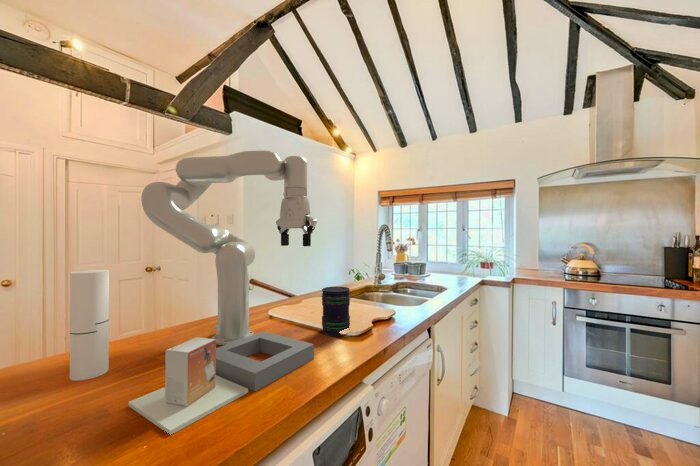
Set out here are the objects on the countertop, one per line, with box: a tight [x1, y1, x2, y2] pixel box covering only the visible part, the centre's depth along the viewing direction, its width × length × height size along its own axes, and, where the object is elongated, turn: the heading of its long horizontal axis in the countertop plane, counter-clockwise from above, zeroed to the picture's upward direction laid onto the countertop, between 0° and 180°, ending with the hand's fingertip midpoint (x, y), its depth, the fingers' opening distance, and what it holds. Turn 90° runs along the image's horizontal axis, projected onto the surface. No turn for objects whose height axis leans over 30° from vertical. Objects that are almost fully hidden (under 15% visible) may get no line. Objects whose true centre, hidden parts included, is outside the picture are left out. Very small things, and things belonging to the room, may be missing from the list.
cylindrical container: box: [69, 269, 110, 382], centre depth 72 cm, size 7×7×25 cm
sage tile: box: [128, 375, 249, 436], centre depth 61 cm, size 16×16×1 cm
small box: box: [164, 336, 217, 406], centre depth 61 cm, size 8×6×10 cm
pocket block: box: [216, 331, 315, 392], centre depth 78 cm, size 20×20×4 cm
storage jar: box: [321, 286, 351, 337], centre depth 104 cm, size 10×10×15 cm
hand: (295, 245), depth 98 cm, fingers open, 9 cm apart
